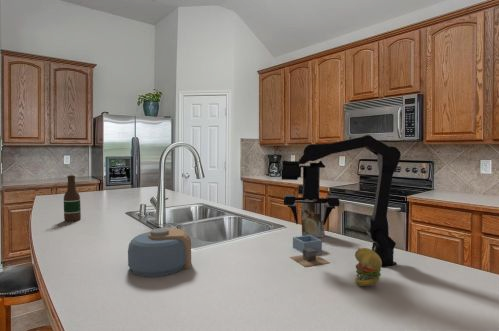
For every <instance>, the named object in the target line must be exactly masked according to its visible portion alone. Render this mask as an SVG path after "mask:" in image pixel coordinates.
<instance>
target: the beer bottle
mask: <svg viewBox="0 0 499 331" xmlns="http://www.w3.org/2000/svg"><path fill="white" fill-rule="evenodd" d="M66 178H67V187H66V188H67V189H66V191H65V193H64V195H63V219H64V221H65V222H69V223H70V222H72V221H73V222H78V221H81V219H82V218H81V217H82V215H81V214H82V213H81V209H82V208H81V195H80V194H79V192H78V191H77V186H76V176H75V175H73V174H71V175H67V177H66ZM73 222H72V223H73Z"/></svg>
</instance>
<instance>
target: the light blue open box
mask: <svg viewBox="0 0 499 331" xmlns="http://www.w3.org/2000/svg"><path fill="white" fill-rule="evenodd" d="M292 248H293V249H295V250H297V251H298V252H300V253H302V254H303V249H307V248H312V249H314V250H316V253H317V252H322V251H323V240H322V239H321V238H319V237H313V236H311V235H306V236H304V235H300V236H292Z"/></svg>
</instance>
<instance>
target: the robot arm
mask: <svg viewBox="0 0 499 331" xmlns="http://www.w3.org/2000/svg"><path fill="white" fill-rule="evenodd" d="M361 148H365V149H367V150H368V151H370V152H371V153H372V154H374V155H376V158H377V168H378V178H377V185H376V192H375V197H374V198H375V199H374V205H373V210H372V211H373V212H372V214H371V216H365V218H366V221H365V222H366V224H365V226H364V228H365V230H366V233H367V235H368V236H369V237H370V238H371V240H372V241H373V242H372V246H371V250H373V251H374V252H376V253H377V254H378V255H379V257H380V258H381V260H382V266H381V268H385V267H390V266H394V265H397V262H396V261H394V255H395V254H394V250H395V247H396V245H397V243H396V242H395V241H394V239H393V238H392V237H390V236H389V234H390V232H389V222H388V217H387V216H388V210H389V202H390V195H391V191H392V190H391V188H392V182H393V176H394V173H395V172H396V169H397V168H398V165H399V162H400V159H401V155H402V154H401V151H400V150H399V149H398V148H397V147H396V146H392V145H391V146H389V145H387V144H385V143H383V142H382V141H379V140H378V139H376V138H375V137H373V136H372V135H370V134H367V135H366V134H365V135H362V136H360V137H355V138H354V137H353V138H350V139H344V140H341V141H335V142H329V143H314V144H312V143H311V144H307V145H306V146H305V147H304V148H303V151H302V153H303V154H302V155H301V157H300V158H298V161H297V160H282V165H281V166H282V167H281V168H282V169H281V181H298V179H299V178H302V184H298V185H297V194H298V195H301V196H302V197H298V196H297V197H296V195H295V194H284V196H283V205H285V206H287V208H289V209H290V210H291V212H292V214H293V217H294V220H295V224H296V225H298V224H299V221H298V220H299V219H298V211H297V204H298V203H299V204H302V203H325V211H324V218H323V226H324V225H325V226H326V223H327V221H328V217H329V216H330V214H331V212H332V210H333V209H334V210H335V209H336V207H340V198H338V196H337V195H326V196H325V197H320V179H321V177H320V176H321V172H320V171H321V170H320V169H321V168H323V169H325V168H326V165H325V164H324V163H323V161H322V160H320V159H323V158H325V157H328V156H330V155H333V154H338V153H342V152H343V153H344V152H348V151H353V150H356V149H357V150H358V149H361ZM318 160H319V161H318ZM316 161H318V162H316ZM308 162H309V165H308V164H307V163H308ZM305 164H307V165H305ZM305 199H308V200H305ZM314 200H317V201H314ZM375 247H376V248H375ZM374 248H375V250H374Z"/></svg>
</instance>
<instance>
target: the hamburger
mask: <svg viewBox="0 0 499 331" xmlns="http://www.w3.org/2000/svg"><path fill="white" fill-rule="evenodd" d="M375 248H376V247H375ZM375 248H374V250H375ZM354 257H355V259H356V261H358V263H357V264H355V269H356V270H355V272H356V278H355V280H354V282H355V284H356V285H357V286H360V287H369V286H372V285H375V284H377V283H378V282H379V280H380V277H381V276H382V274H381V271H382V260H381V258H380V257H379V255H378V254H377V253H376V252H374V251H373V250H372V248H371V249H370V248H367V247H361V248H358V249H357V250H356V251H355V252H354Z"/></svg>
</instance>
